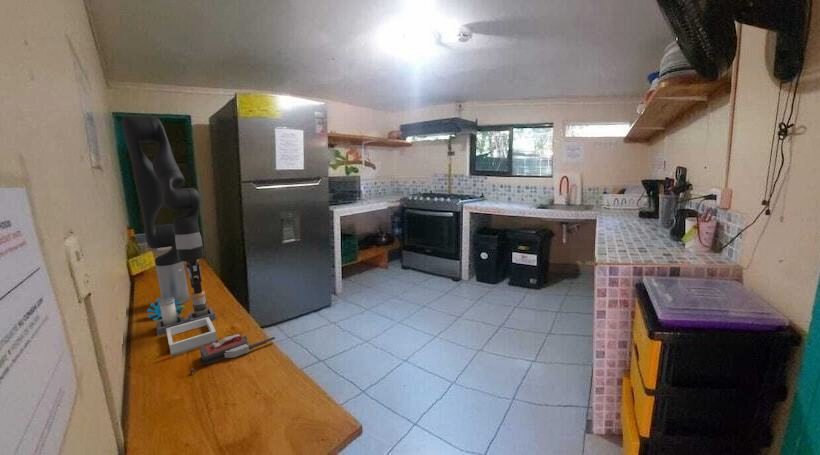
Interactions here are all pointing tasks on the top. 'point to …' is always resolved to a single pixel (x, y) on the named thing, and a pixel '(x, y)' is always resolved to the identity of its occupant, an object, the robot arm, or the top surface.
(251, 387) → the top surface
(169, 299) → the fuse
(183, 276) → the robot arm
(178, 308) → the gear
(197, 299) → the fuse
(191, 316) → the fuse block
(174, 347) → the parts tray
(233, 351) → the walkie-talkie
